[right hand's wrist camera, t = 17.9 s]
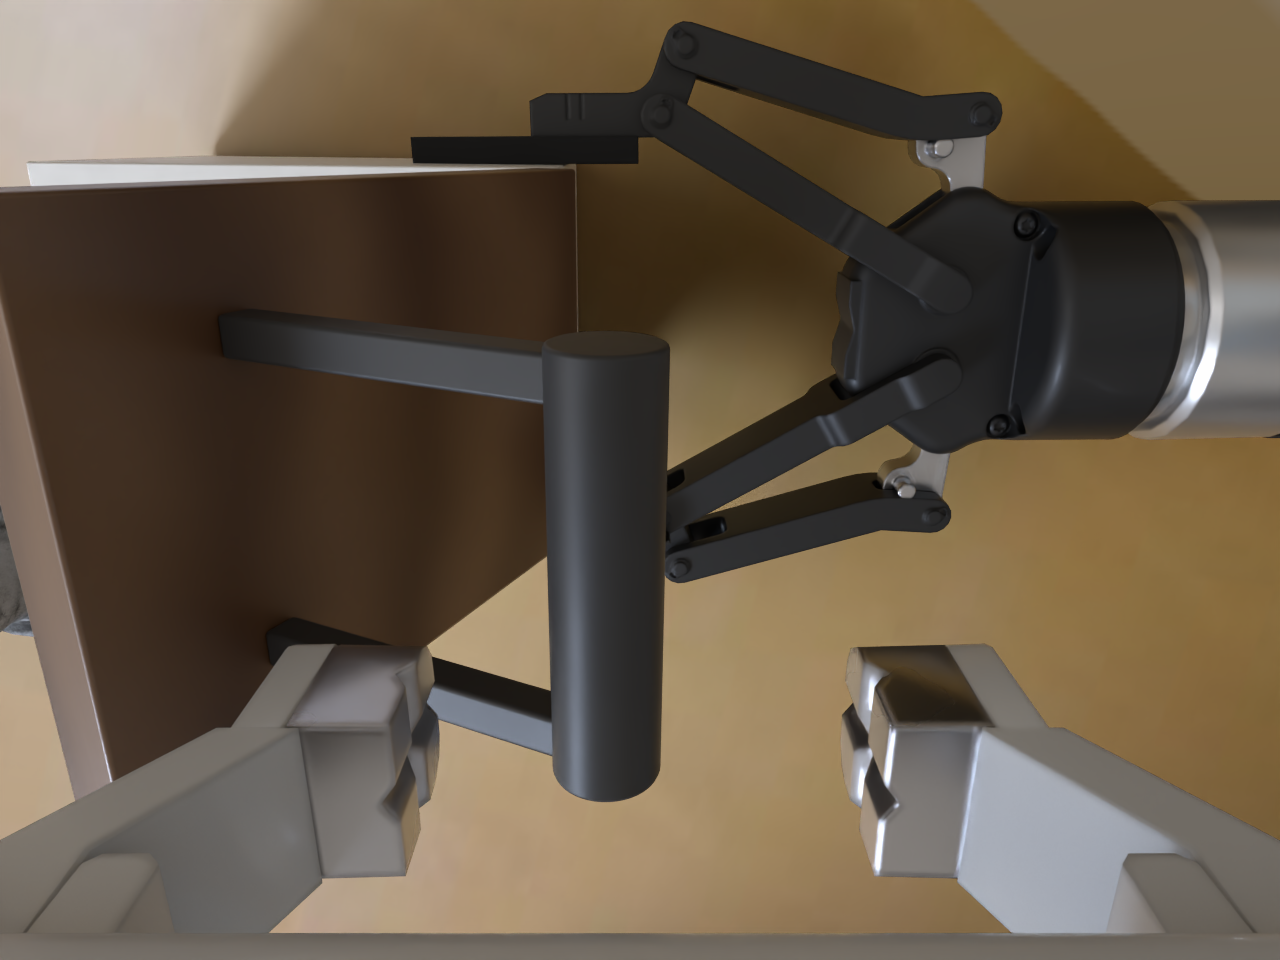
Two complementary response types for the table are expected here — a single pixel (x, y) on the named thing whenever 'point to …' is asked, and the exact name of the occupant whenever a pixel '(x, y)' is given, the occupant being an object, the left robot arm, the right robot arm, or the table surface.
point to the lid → (326, 454)
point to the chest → (240, 170)
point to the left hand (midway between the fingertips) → (437, 327)
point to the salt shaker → (11, 590)
